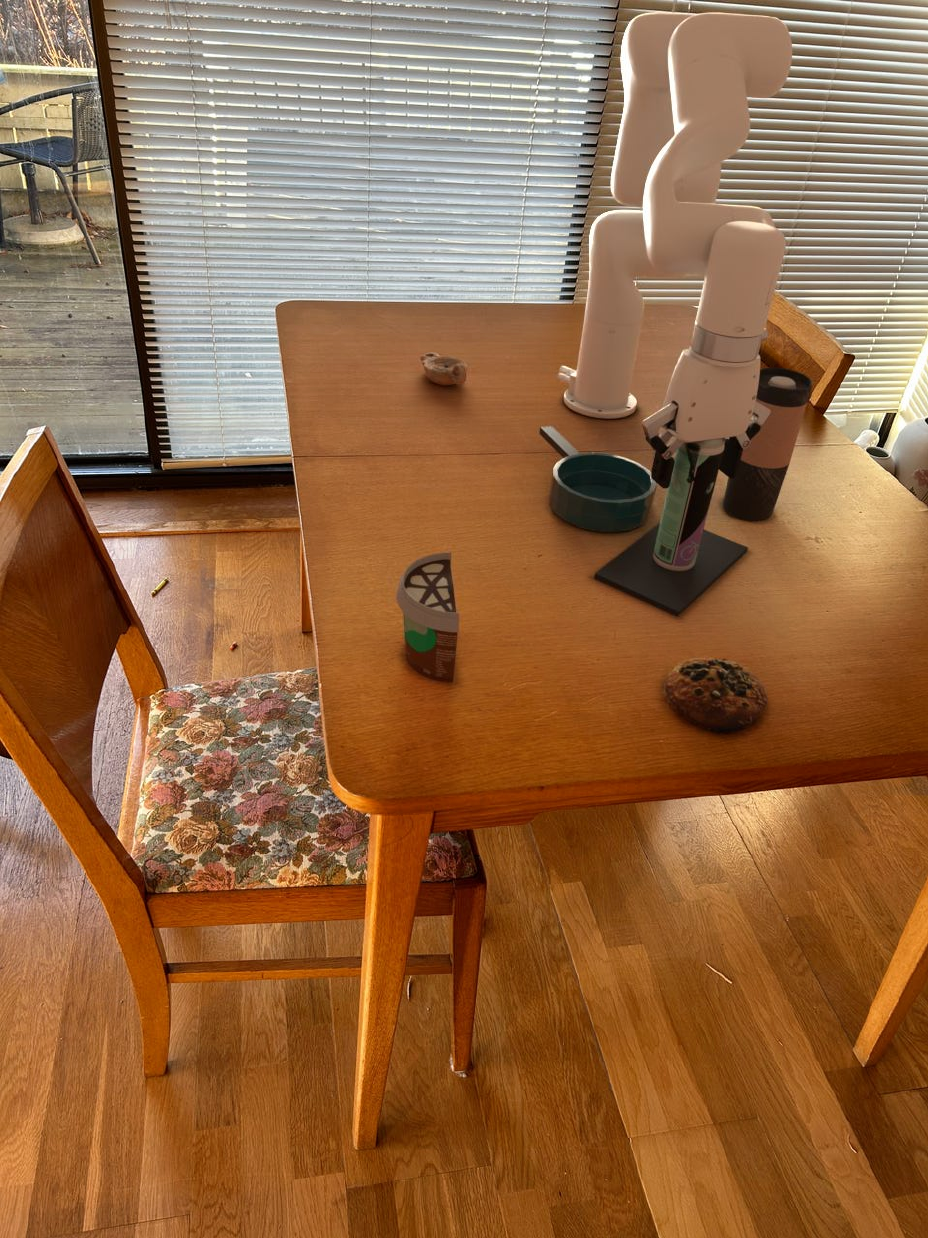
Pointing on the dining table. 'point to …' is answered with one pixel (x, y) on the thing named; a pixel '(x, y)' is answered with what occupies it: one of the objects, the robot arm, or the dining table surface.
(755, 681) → the bread roll
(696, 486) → the spray can
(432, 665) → the food container
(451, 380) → the oil lamp
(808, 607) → the dining table surface
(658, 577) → the mat
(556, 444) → the pan handle
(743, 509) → the travel mug
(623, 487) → the pan
